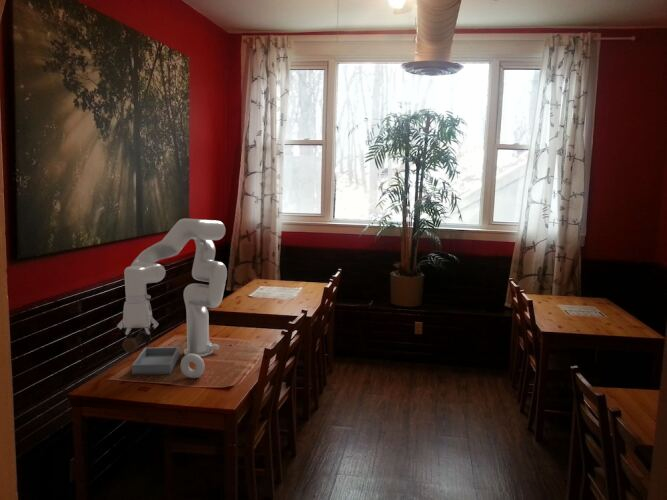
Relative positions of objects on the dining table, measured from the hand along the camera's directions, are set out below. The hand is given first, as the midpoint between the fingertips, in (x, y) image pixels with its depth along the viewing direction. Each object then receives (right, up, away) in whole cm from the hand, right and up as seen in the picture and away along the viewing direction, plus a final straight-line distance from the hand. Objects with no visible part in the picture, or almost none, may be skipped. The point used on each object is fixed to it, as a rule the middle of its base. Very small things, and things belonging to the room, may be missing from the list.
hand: (139, 343), depth 208 cm
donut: (+20, -15, +5) cm, 25 cm away
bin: (+1, -12, +18) cm, 22 cm away
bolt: (0, -1, 0) cm, 1 cm away
